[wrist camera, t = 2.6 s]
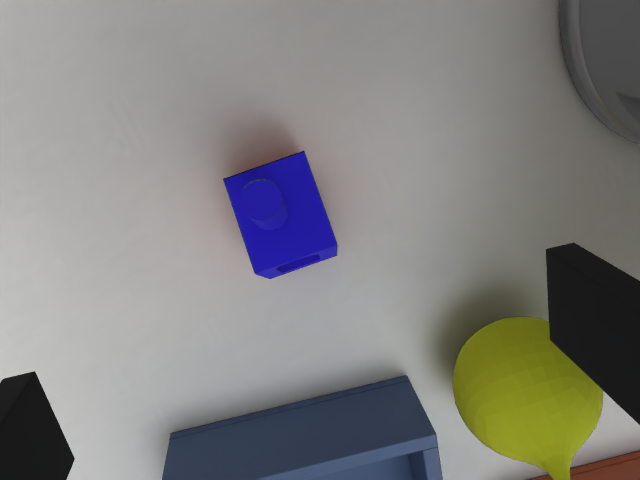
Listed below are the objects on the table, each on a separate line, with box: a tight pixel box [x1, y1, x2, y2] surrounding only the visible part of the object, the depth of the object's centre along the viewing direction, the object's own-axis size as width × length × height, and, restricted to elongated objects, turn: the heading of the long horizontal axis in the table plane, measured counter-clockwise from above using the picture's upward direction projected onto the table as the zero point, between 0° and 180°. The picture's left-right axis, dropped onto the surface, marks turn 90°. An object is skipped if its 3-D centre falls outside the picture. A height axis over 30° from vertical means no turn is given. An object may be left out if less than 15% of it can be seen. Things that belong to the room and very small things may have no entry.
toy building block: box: [223, 151, 338, 279], centre depth 23 cm, size 4×4×8 cm
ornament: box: [453, 317, 603, 480], centre depth 26 cm, size 7×7×10 cm
